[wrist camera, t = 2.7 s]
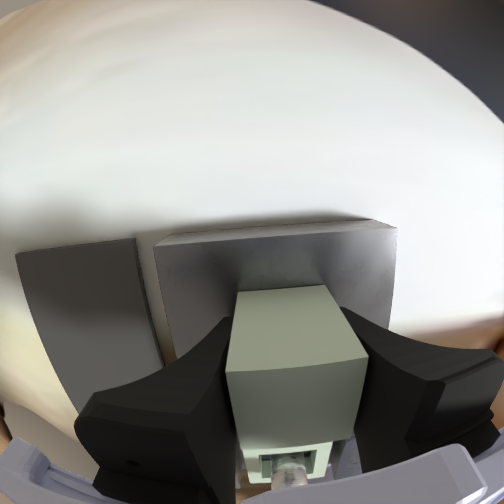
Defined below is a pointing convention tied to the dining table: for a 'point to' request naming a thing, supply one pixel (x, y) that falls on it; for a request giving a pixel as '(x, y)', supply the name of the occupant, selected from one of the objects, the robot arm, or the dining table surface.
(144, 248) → the dining table surface
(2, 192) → the dining table surface
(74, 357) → the black mat
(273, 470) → the vise
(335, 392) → the sage hook
